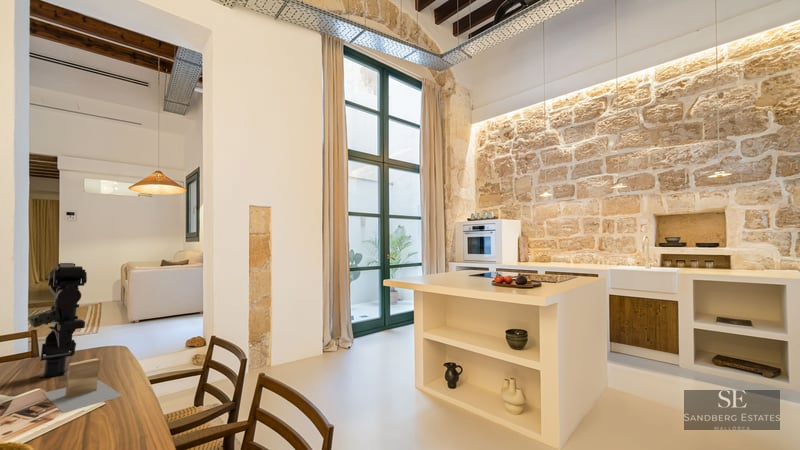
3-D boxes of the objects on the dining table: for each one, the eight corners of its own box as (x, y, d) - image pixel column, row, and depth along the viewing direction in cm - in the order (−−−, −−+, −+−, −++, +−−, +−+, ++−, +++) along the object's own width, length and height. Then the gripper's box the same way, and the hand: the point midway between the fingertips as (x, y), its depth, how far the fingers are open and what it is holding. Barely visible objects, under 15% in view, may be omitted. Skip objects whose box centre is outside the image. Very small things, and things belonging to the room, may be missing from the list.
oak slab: (65, 395, 105) (68, 363, 106) (93, 388, 111) (96, 358, 112) (67, 397, 104) (71, 365, 105) (96, 390, 110) (99, 359, 110)
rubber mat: (42, 394, 106) (42, 393, 106) (98, 380, 118) (98, 379, 118) (62, 414, 95) (63, 412, 95) (122, 396, 107) (123, 395, 107)
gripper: (24, 301, 113) (18, 348, 112) (41, 307, 104) (35, 358, 103) (68, 298, 123) (63, 341, 122) (88, 303, 114) (82, 349, 112)
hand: (61, 347), depth 114 cm, fingers closed
